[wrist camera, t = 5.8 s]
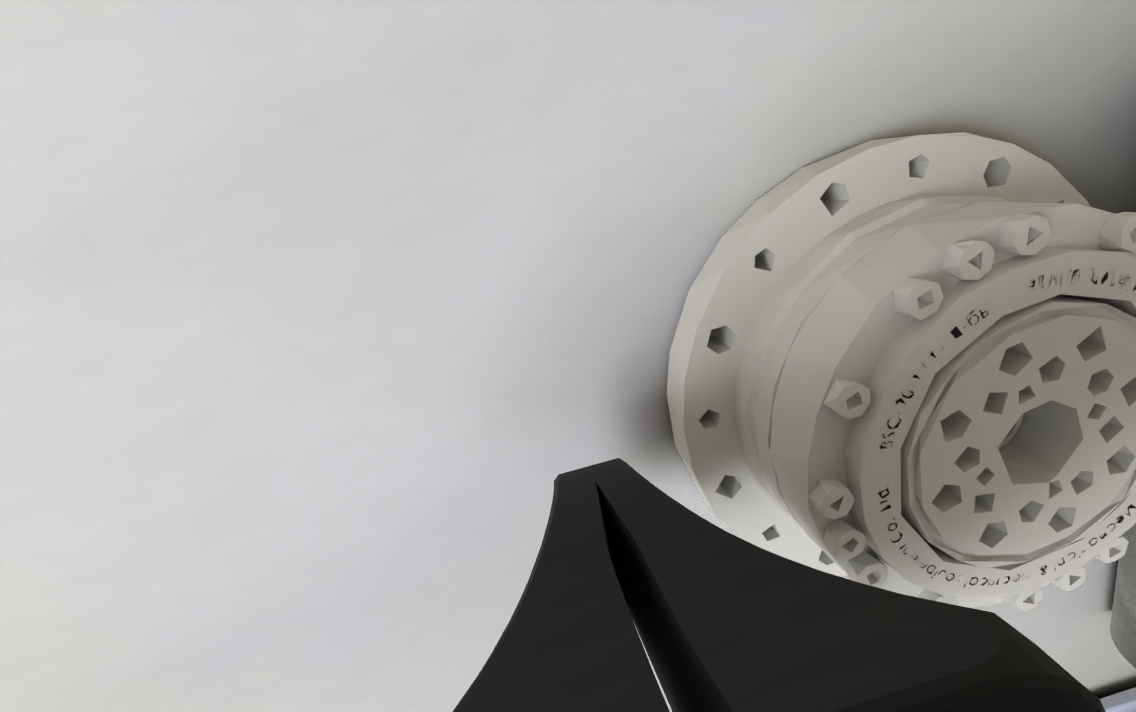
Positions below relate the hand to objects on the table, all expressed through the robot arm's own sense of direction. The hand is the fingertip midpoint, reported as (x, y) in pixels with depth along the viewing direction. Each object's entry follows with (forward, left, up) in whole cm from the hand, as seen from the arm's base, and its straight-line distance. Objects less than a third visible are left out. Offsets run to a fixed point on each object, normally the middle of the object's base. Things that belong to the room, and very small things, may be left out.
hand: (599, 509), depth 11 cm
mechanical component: (0, -7, -2) cm, 8 cm away
